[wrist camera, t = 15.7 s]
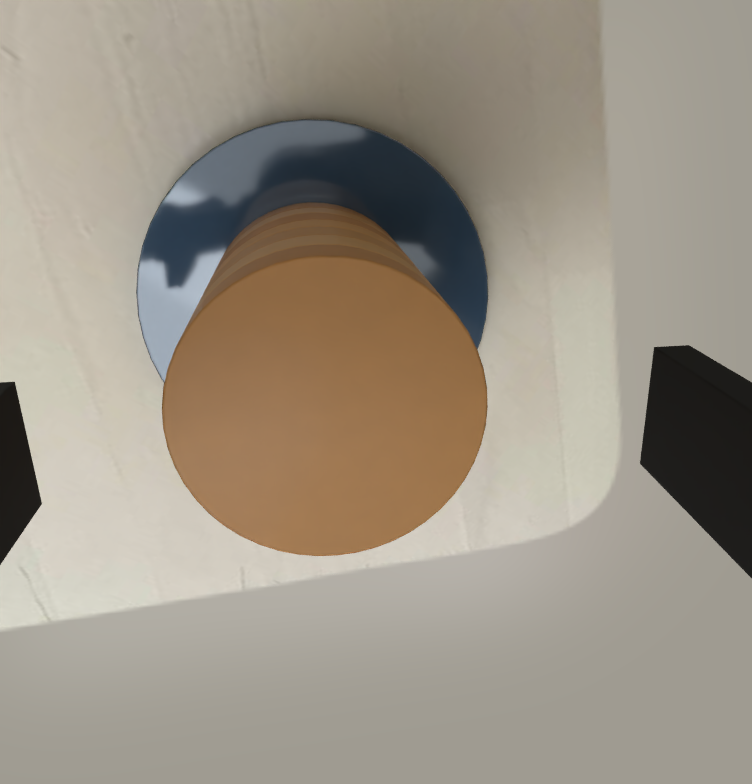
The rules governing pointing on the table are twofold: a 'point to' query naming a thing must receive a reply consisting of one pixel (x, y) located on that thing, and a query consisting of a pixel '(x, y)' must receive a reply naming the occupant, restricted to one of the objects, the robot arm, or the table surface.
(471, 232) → the plate
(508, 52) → the table surface
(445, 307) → the cookies
